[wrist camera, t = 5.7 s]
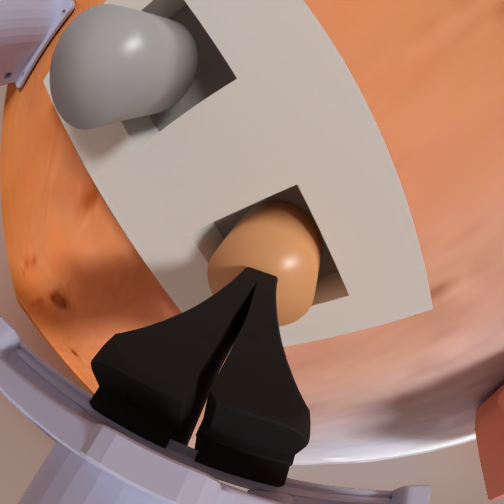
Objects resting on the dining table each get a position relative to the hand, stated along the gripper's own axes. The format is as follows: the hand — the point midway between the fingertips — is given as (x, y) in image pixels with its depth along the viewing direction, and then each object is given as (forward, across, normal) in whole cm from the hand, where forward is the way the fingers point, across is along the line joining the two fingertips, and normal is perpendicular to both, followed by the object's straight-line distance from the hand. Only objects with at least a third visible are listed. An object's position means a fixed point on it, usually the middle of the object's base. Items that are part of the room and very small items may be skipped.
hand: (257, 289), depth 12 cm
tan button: (+4, 0, 0) cm, 4 cm away
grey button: (+2, +7, -8) cm, 11 cm away
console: (+5, +4, -4) cm, 7 cm away
